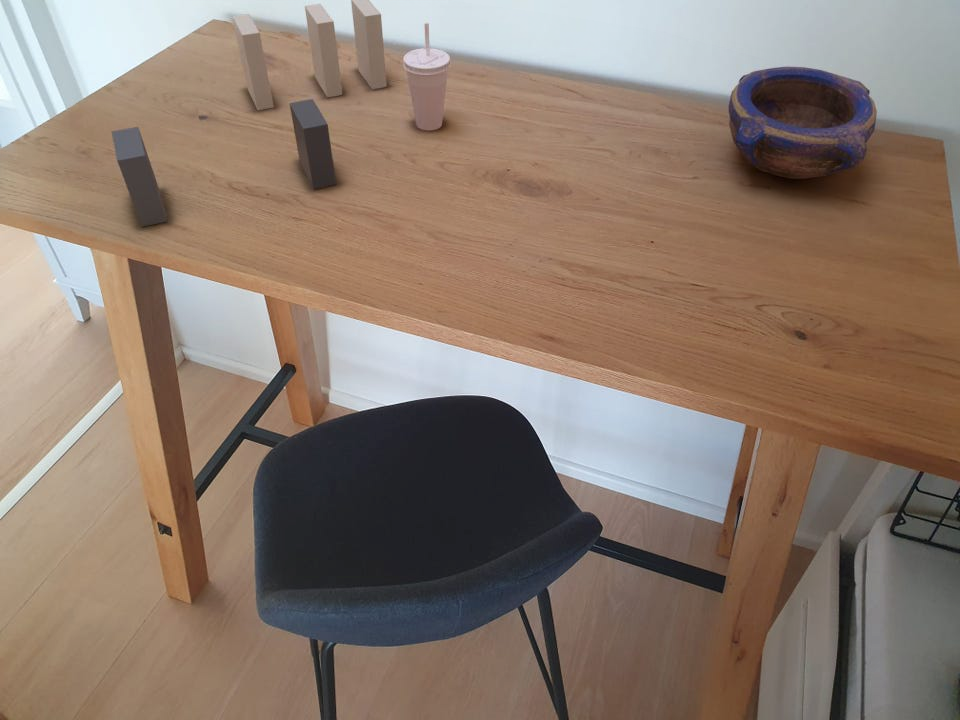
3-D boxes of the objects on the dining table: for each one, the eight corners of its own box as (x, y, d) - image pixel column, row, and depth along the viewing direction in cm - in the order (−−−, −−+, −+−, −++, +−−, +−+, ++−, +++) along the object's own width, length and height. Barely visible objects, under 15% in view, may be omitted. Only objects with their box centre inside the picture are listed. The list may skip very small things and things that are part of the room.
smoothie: (456, 116, 111) (455, 18, 101) (444, 137, 107) (442, 37, 97) (414, 111, 112) (408, 13, 102) (401, 132, 108) (394, 32, 98)
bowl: (706, 184, 99) (724, 113, 92) (725, 121, 111) (742, 53, 104) (851, 213, 95) (882, 140, 88) (855, 144, 107) (882, 75, 100)
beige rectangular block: (257, 110, 112) (242, 35, 104) (247, 90, 116) (232, 16, 109) (274, 107, 113) (259, 32, 105) (263, 87, 117) (249, 13, 109)
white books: (327, 97, 115) (317, 23, 107) (315, 78, 119) (304, 5, 112) (386, 86, 118) (381, 13, 110) (372, 68, 122) (366, -4, 114)
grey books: (141, 227, 92) (117, 160, 85) (135, 196, 96) (111, 131, 90) (336, 184, 98) (327, 120, 92) (321, 158, 103) (312, 94, 96)
